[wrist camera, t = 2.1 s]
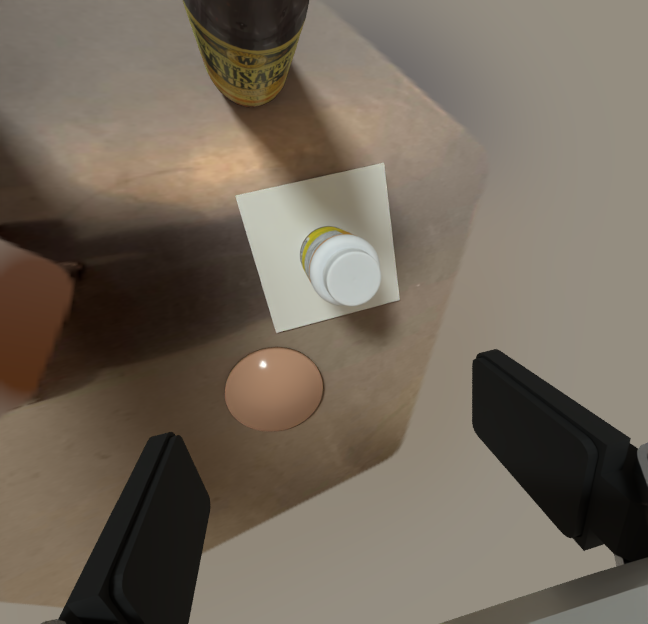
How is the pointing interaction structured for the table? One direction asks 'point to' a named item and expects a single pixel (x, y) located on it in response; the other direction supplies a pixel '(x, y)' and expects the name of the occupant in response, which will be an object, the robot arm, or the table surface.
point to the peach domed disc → (273, 389)
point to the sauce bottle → (247, 44)
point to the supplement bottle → (340, 266)
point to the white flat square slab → (299, 221)
